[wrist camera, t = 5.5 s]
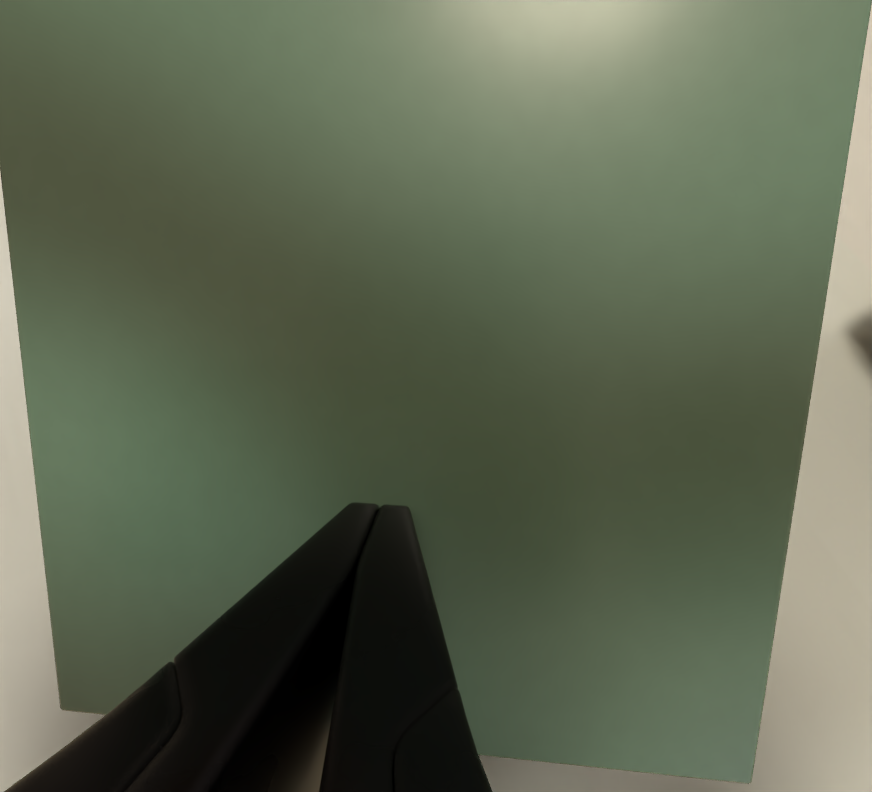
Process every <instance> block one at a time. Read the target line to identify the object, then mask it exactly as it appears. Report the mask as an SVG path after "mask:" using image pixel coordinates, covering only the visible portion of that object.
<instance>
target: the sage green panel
mask: <svg viewBox="0 0 872 792" xmlns="http://www.w3.org/2000/svg"><path fill="white" fill-rule="evenodd" d="M871 3H872V0H0V171H1V180H2V189H3V198H4V207H5V216H6V225H7V234H8V243H9V252H10V260H11V269H12V278H13V287H14V296H15V305H16V314H17V323H18V332H19V341H20V350H21V359H22V368H23V377H24V386H25V395H26V404H27V413H28V422H29V431H30V439H31V448H32V457H33V466H34V475H35V484H36V493H37V502H38V511H39V520H40V529H41V538H42V547H43V556H44V565H45V574H46V583H47V592H48V601H49V610H50V618H51V627H52V636H53V645H54V654H55V663H56V672H57V681H58V690H59V699H60V708H61V709H62V710H66V711H76V712H85V713H94V714H104V715H107V714H108V713H109V712H110V711H111V710H113V709H114V708H115V707H116V706H117V705H119V704H120V703H121V702H122V701H123V700H125V699H126V698H127V697H128V696H129V695H130V694H132V693H133V692H134V691H135V690H136V689H138V688H139V687H140V686H141V685H142V684H144V683H145V682H146V681H147V680H148V679H149V678H151V677H152V676H153V675H154V674H155V673H156V672H157V671H159V670H160V669H161V668H162V667H163V666H164V665H165V664H166V663H168V662H173V663H174V657H175V656H176V655H177V654H178V653H179V652H181V651H182V650H183V649H184V648H185V647H186V646H187V645H189V644H190V643H191V642H192V641H193V640H194V639H195V638H196V637H198V636H199V635H200V634H201V633H202V632H203V631H204V630H206V629H207V628H208V627H209V626H210V625H211V624H212V623H214V622H215V621H216V620H217V619H218V618H219V617H220V616H222V615H223V614H224V613H225V612H226V611H227V610H228V609H230V608H231V607H232V606H233V605H234V604H235V603H236V602H238V601H239V600H240V599H241V598H242V597H243V596H244V595H246V594H247V593H248V592H249V591H250V590H251V589H252V588H254V587H255V586H256V585H257V584H258V583H259V582H260V581H261V580H263V579H264V578H265V577H266V576H267V575H268V574H269V573H271V572H272V571H273V570H274V569H275V568H276V567H277V566H279V565H280V564H281V563H282V562H283V561H284V560H285V559H287V558H288V557H289V556H290V555H291V554H292V553H293V552H295V551H296V550H297V549H298V548H299V547H300V546H301V545H303V544H304V543H305V542H306V541H307V540H308V539H309V538H311V537H312V536H313V535H314V534H315V533H316V532H317V531H319V530H320V529H321V528H322V527H323V526H324V525H325V524H326V523H328V522H329V521H330V520H331V519H332V518H333V517H334V516H336V515H337V514H338V513H339V512H340V511H341V510H342V509H344V508H345V507H346V506H347V505H348V504H350V503H354V502H358V503H373V504H377V505H378V506H379V507H381V506H382V505H384V504H388V505H403V506H407V507H409V508H410V511H411V514H412V518H413V522H414V525H415V529H416V533H417V536H418V540H419V544H420V548H421V551H422V555H423V559H424V562H425V566H426V570H427V574H428V577H429V581H430V585H431V588H432V592H433V596H434V600H435V603H436V607H437V611H438V614H439V618H440V622H441V625H442V629H443V633H444V637H445V640H446V644H447V648H448V651H449V655H450V659H451V663H452V666H453V670H454V674H455V677H456V681H457V685H458V690H459V692H460V695H461V698H462V702H463V706H464V710H465V713H466V717H467V720H468V724H469V727H470V730H471V733H472V736H473V740H474V743H475V746H476V749H477V752H478V755H486V756H495V757H504V758H514V759H523V760H532V761H542V762H551V763H560V764H569V765H579V766H588V767H597V768H607V769H616V770H625V771H635V772H644V773H653V774H663V775H672V776H681V777H691V778H700V779H709V780H718V781H728V782H737V783H746V784H749V783H751V781H752V774H753V768H754V761H755V755H756V749H757V742H758V736H759V729H760V723H761V716H762V710H763V703H764V697H765V690H766V684H767V677H768V671H769V664H770V658H771V651H772V645H773V638H774V632H775V625H776V619H777V612H778V606H779V599H780V593H781V586H782V580H783V574H784V567H785V561H786V554H787V548H788V541H789V535H790V528H791V522H792V515H793V509H794V502H795V496H796V489H797V483H798V476H799V470H800V463H801V457H802V450H803V444H804V437H805V431H806V424H807V418H808V412H809V405H810V399H811V392H812V386H813V379H814V373H815V366H816V360H817V353H818V347H819V340H820V334H821V327H822V321H823V314H824V308H825V301H826V295H827V288H828V282H829V275H830V269H831V262H832V256H833V249H834V243H835V237H836V230H837V224H838V217H839V211H840V204H841V198H842V191H843V185H844V178H845V172H846V165H847V159H848V152H849V146H850V139H851V133H852V126H853V120H854V113H855V107H856V100H857V94H858V87H859V81H860V75H861V68H862V62H863V55H864V49H865V42H866V36H867V29H868V23H869V16H870V10H871Z"/></svg>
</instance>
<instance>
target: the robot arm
mask: <svg viewBox="0 0 872 792" xmlns="http://www.w3.org/2000/svg"><path fill="white" fill-rule="evenodd" d="M4 792H492V789H491V787H490V784H489V782H488V779H487V776H486V774H485V771H484V769H483V766H482V764H481V761H480V758H479V756H478V752H477V749H476V746H475V743H474V740H473V736H472V733H471V730H470V727H469V724H468V720H467V717H466V713H465V710H464V706H463V702H462V698H461V695H460V692H459V690H458V685H457V681H456V677H455V674H454V670H453V666H452V663H451V659H450V655H449V651H448V648H447V644H446V640H445V637H444V633H443V629H442V625H441V622H440V618H439V614H438V611H437V607H436V603H435V600H434V596H433V592H432V588H431V585H430V581H429V577H428V574H427V570H426V566H425V562H424V559H423V555H422V551H421V548H420V544H419V540H418V536H417V533H416V529H415V525H414V522H413V518H412V514H411V511H410V508H409V507H407V506H403V505H388V504H384V505H382V506H381V507H379V506H378V505H377V504H373V503H358V502H354V503H350V504H348V505H347V506H346V507H345V508H344V509H342V510H341V511H340V512H339V513H338V514H337V515H336V516H334V517H333V518H332V519H331V520H330V521H329V522H328V523H326V524H325V525H324V526H323V527H322V528H321V529H320V530H319V531H317V532H316V533H315V534H314V535H313V536H312V537H311V538H309V539H308V540H307V541H306V542H305V543H304V544H303V545H301V546H300V547H299V548H298V549H297V550H296V551H295V552H293V553H292V554H291V555H290V556H289V557H288V558H287V559H285V560H284V561H283V562H282V563H281V564H280V565H279V566H277V567H276V568H275V569H274V570H273V571H272V572H271V573H269V574H268V575H267V576H266V577H265V578H264V579H263V580H261V581H260V582H259V583H258V584H257V585H256V586H255V587H254V588H252V589H251V590H250V591H249V592H248V593H247V594H246V595H244V596H243V597H242V598H241V599H240V600H239V601H238V602H236V603H235V604H234V605H233V606H232V607H231V608H230V609H228V610H227V611H226V612H225V613H224V614H223V615H222V616H220V617H219V618H218V619H217V620H216V621H215V622H214V623H212V624H211V625H210V626H209V627H208V628H207V629H206V630H204V631H203V632H202V633H201V634H200V635H199V636H198V637H196V638H195V639H194V640H193V641H192V642H191V643H190V644H189V645H187V646H186V647H185V648H184V649H183V650H182V651H181V652H179V653H178V654H177V655H176V656H175V657H174V663H173V662H168V663H166V664H165V665H164V666H163V667H162V668H161V669H160V670H159V671H157V672H156V673H155V674H154V675H153V676H152V677H151V678H149V679H148V680H147V681H146V682H145V683H144V684H142V685H141V686H140V687H139V688H138V689H136V690H135V691H134V692H133V693H132V694H130V695H129V696H128V697H127V698H126V699H125V700H123V701H122V702H121V703H120V704H119V705H117V706H116V707H115V708H114V709H113V710H111V711H110V712H109V713H108V714H107V715H105V716H104V717H103V718H101V719H100V720H99V721H98V722H96V723H95V724H94V725H92V726H91V727H90V728H88V729H87V730H86V731H85V732H83V733H82V734H81V735H79V736H78V737H77V738H75V739H74V740H73V741H72V742H70V743H69V744H68V745H66V746H65V747H64V748H62V749H61V750H60V751H58V752H57V753H56V754H54V755H53V756H52V757H50V758H49V759H48V760H46V761H45V762H44V763H42V764H41V765H40V766H38V767H37V768H36V769H34V770H33V771H31V772H30V773H29V774H27V775H26V776H25V777H23V778H22V779H21V780H19V781H18V782H17V783H15V784H14V785H13V786H11V787H10V788H8V789H7V790H6V791H4Z"/></svg>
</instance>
